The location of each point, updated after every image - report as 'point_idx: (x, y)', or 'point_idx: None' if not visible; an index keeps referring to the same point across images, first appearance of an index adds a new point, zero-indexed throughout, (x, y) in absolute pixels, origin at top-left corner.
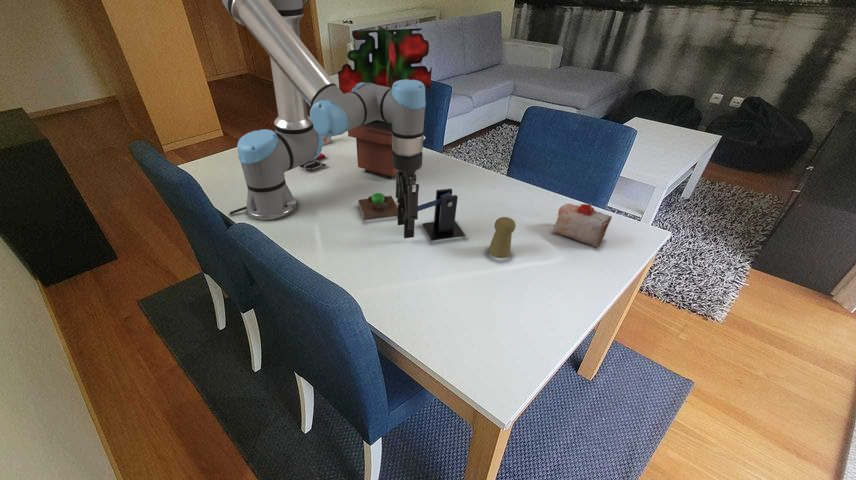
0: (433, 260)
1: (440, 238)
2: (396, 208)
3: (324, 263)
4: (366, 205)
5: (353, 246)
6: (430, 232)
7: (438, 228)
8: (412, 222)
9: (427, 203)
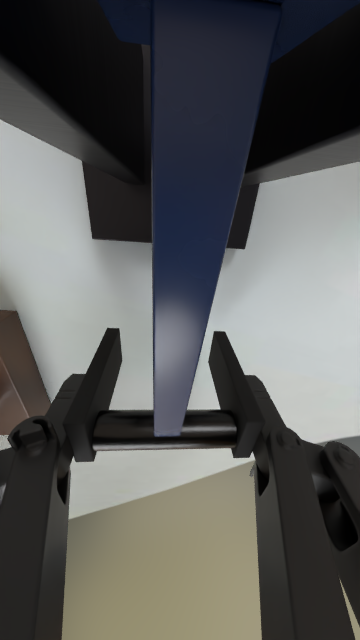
0: (331, 280)
1: (255, 200)
2: None
3: (204, 471)
4: None
5: None
6: None
7: None
8: (276, 415)
9: (170, 336)
